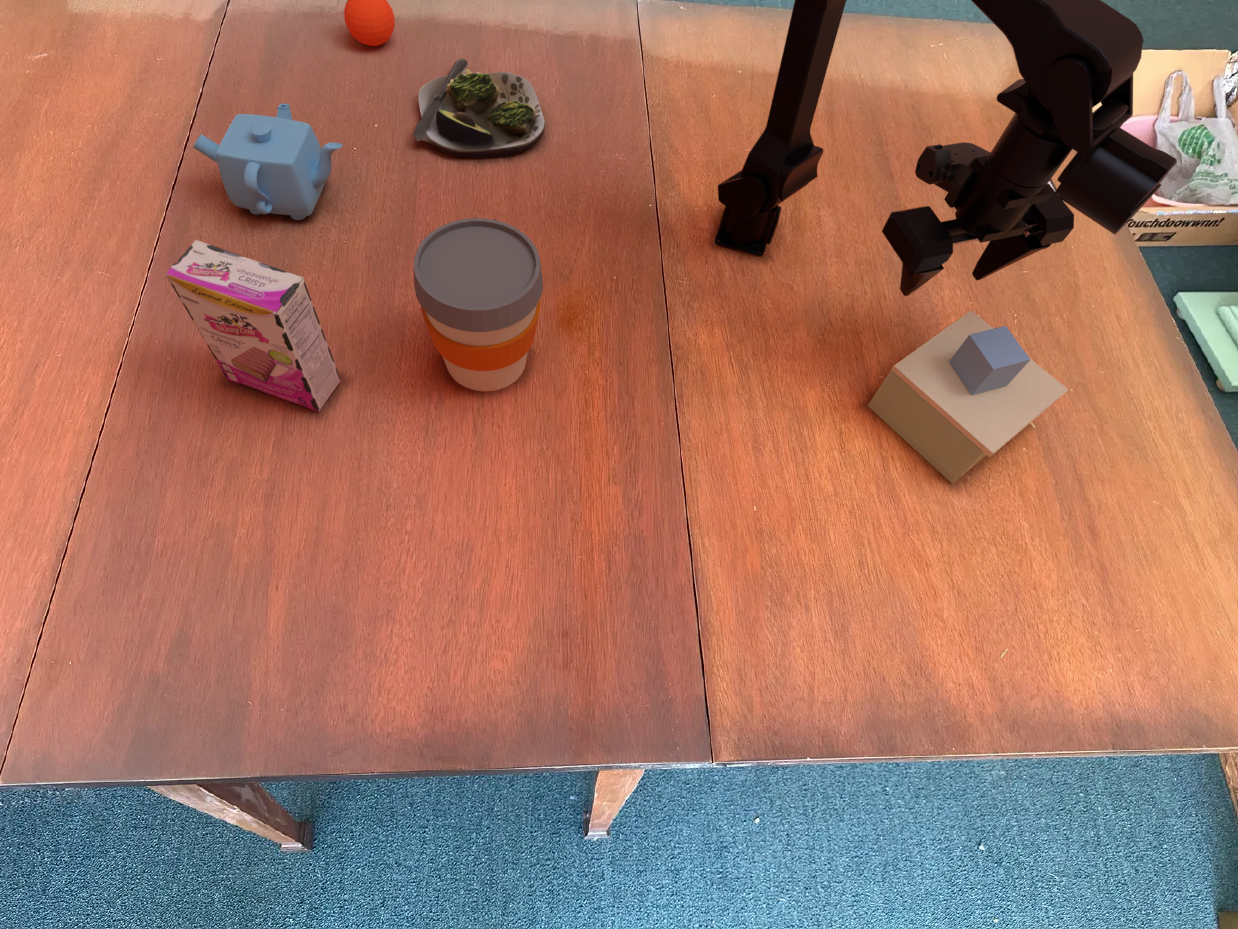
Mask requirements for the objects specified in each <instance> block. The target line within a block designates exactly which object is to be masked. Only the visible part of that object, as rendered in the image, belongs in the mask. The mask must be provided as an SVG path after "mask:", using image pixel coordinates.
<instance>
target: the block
mask: <svg viewBox="0 0 1238 929" xmlns="http://www.w3.org/2000/svg"><path fill="white" fill-rule="evenodd" d="M993 328H994V327H993ZM1029 361H1030V356H1029V355H1028V354H1027V352H1026V351H1025V350H1024V348H1023V347H1022V346H1021V344H1020V343H1019V342H1018V340H1017V339H1016V338H1015V336H1014V335H1013V333H1012V332H1011V330H1010V329H1009V328H1008V326H1007V325H1003V326H998V327H995V328H994V329H990V330H986V331H982V332H978V333H974V334H970V335H969V336H968V337H967V338H966V340H965V341H964V342H963V344H962V345H961V346H960V348H959V349H958V350H957V352H956V353H955V354H954V356H953V357H952V358H951V360H950V361H949V363H950V364H951V366H952V367H953V369H954V370H955V372H956V373H957V375H958V376H959V378H960V379H961V381H962V382H963V384H964V385H965V387H966V388H967V390H968V391H969V393H970V394H971V395H975V394H979V393H983V392H986V391H990V390H994V389H998V388H1001V387H1005V386H1007V385H1008V384H1009V383H1010V382H1011V381H1012V380H1013V379H1014V378H1015V377H1016V375H1017V374H1018V373H1019V372H1020V371H1021V370H1022V369H1023V368H1024V367H1025V365H1026V364H1027V363H1028V362H1029Z"/></svg>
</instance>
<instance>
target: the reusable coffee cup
mask: <svg viewBox="0 0 1238 929" xmlns="http://www.w3.org/2000/svg"><path fill="white" fill-rule="evenodd" d="M539 254H540V253H539V251H538V248H537V247H536V245H535V243H534V242H533V240H532V239H530V237H529V236H528V235H527V234H526V233H524V232H523V231H522V230H520V229H519V228H517V227H515V226H514V225H511V224H509V223H507V222H504V221H500V220H496V219H492V218H486V217H485V218H484V217H471V218H461V219H457V220H454V221H450V222H447V223H445V224H443V225H441V226H437V228H435V229H433V231H431V232H430V233H428V234H427V235H426V236H425V237H424V238H423V239H422V240H421V242H420V244H419V245H418V247H417V248H416V250H415V254H414V257H413V288H414V292H415V298H416V299H417V301H418V303H419V305H420V309H421V315H422V318H423V321H424V323H425V326H426V328H427V331H428V333H429V336H430V338H431V341H432V343H433V345H434V347H435V349H436V351H437V352H438V353H439V354H440V355H441V357H442V359H443V361H444V364H445V367H446V369H447V371H448V373H449V375H450V377H451V378H452V379H453V380H454V381H455V382H456V383H458V384H459V385H460V386H462V387H464V388H466V389H470V390H472V391H477V392H493V391H494V392H495V391H499V390H503V389H504V388H507V387H509V386H510V385H512V384H513V383H515V382H516V381H517V380H518V379H519V378H520V377H521V375H522V374H523V372H524V370H525V368H526V364H527V358H528V355H529V354H528V353H529V350H530V349H531V348H532V345H533V343H534V341H535V336H536V332H537V327H538V322H539V316H540V311H541V298H542V294H543V290H544V279H543V278H544V276H543V271H542V270H543V269H542V263H541V262H542V261H541V257H540V255H539Z"/></svg>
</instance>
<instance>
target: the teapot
mask: <svg viewBox="0 0 1238 929" xmlns="http://www.w3.org/2000/svg"><path fill="white" fill-rule="evenodd" d="M321 146H322V145H321V144H320V142H319V140H318V137H317V135H316V133H315V131H314V129H313V127H312V126H311V124H309V123H307V122H304V121H299V120H294V119H293V115H292V111H291V107H290V104H289V103H280V104H279V105H278V106H277V110H276V116H271V115H270V116H269V115H261V114H250V113H237V114H236V115H235V116H234V117H233V119H232V121H231V123H230V125H229V127H228V128H227V130H226V132H225V134H224V136H223V137H222V139H221V141H220V143H219V144H218V143H217V142H215V141H213V140H212V139H210V138H209V137H207V136H206V135H204V134H202V133H200V134H199V135H198V137H197V138H196V140H195V142H194V143H193V146H192V148H193V149H195V150H196V151H198V152H199V153H201V154H202V155H204V156H205V157H207V158H209V159H210V160H212V161H213V162H215V163H216V164H217V165H218V170H219V175H220V178H221V182H222V184H223V187H224V190H225V192H226V195H227V197H228V198H229V200H230V201H231V203H232V204H233V205H234V206H235V207H238V208H242V209H246V210H249V212H250V213H251V214H253V215H268V214H274V215H282V216H283V215H284V216H290V218H291V219H292V220H295V221H301V220H304V219H305V218H306V217H308V216H309V217H310V216H311V215H312V213H313V212H314V210H315V207H316V206H317V204H318V202H319V199H320V197H321V194H322V192H323V189H324V186H325V184H326V182H327V181H328V180H329V178H330V176H331V173H332V167H333V166H332V163H333V162H332V156H333V153H334V152H335V151H337V150H339V149H341V148H343V146H344V145H343V144H342V143H340V142H328V143H325V144H323V146H322V147H321Z"/></svg>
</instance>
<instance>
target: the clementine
mask: <svg viewBox="0 0 1238 929" xmlns="http://www.w3.org/2000/svg"><path fill="white" fill-rule="evenodd" d="M339 3H340V0H337V4H336V6H338V5H339ZM343 17H344V23H345V26H346V28H347V31H348V32H349V33H350V34H351V36H352V37H353V38H354V39H355V40H356V41H358V42H359V43H360V44H363V45H366V46H369V47H378V46H381V45H383V44H385V43H386V42H388V41H389V40H390V38H391V36H392V35H393V33H394V30H395V26H396V22H395V21H396V20H395V18H396V17H395V13H394V11H393V8H392V7H391V4H390V3H389V2H388V0H347V1H346V2H345V5H344V10H343Z"/></svg>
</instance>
